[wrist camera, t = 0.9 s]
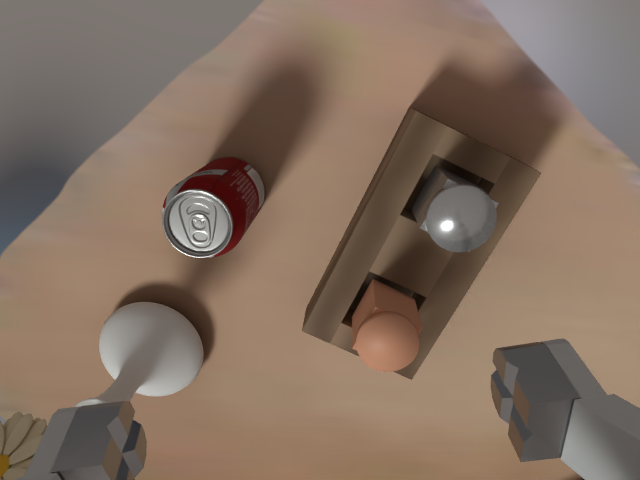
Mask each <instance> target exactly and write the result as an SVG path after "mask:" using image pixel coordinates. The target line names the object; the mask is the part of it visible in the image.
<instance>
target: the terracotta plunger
mask: <svg viewBox="0 0 640 480" xmlns="http://www.w3.org/2000/svg"><path fill="white" fill-rule="evenodd" d="M421 330H422V325H421V321H420V317H419V314H418V310H417V306H416V303H415V299H414V298H413V297H411V296H409V295H407V294H405V293H402V292H400V291H398V290H396V289H394V288H392V287H389V286H387V285H385V284H383V283H381V282H379V281H376V280H374V279H372V281H371V283H370V285H369V286H368V288H367V290H366V292H365V294H364V296H363V297H362V299H361V301H360V303H359V305H358V306H357V308H356V310H355V312H354V314H353V316H352V349H354V350H357V352H358V354H359V356H360V358H361V359H362V361H363V362H364V363H365V364H366V365H368V366H369V367H371V368H373V369H375V370H378V371H384V372H391V371H397V370H400V369H402V368H404V367H406V366H408V365H409V364H410V363H411V362H412V361H413V360H414V359H415V357H416V355H417V353H418V351H419V337H418V335H419V333H420V332H421Z"/></svg>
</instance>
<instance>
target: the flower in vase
mask: <svg viewBox="0 0 640 480" xmlns="http://www.w3.org/2000/svg"><path fill="white" fill-rule="evenodd" d="M99 350H100V355H101V359H102V361H103V364H104V366H105V367H106V369H107V371H108V372H109V373H110V375H111V376H112V377H113V378H114V379H115V381H114V382H113V384H112V385H111V386H110V387H109V388H108V389H107V390H106V391H105V392H104V393H103V394H101V395H100V396H99V397H97V398H89V399H85V400H83V401H81V402H79V403H77V404H76V405H75V406H74V407H79V406H85V405H94V404H102V403H111V402H120V401H130V400H131V398H132V397H133V395H134V393H135V392H136V393H139V394H143V395H147V396H165V395H170V394H173V393H176V392H178V391H180V390H181V389H183V388H185V387H186V386H188V385H189V384H190V383H191V382H192V381H193V380H194V379H195V378H196V377H197V375H198V374H199V372H200V370H201V367H202V363H203V355H204V353H203V346H202V342H201V339H200V336H199V334H198V333H197V331H196V329H195V328H194V326H193V325H192V324H191V323H190V322H189V321H188V319H186V318H185V317H184V316H183V315H182V314H180V313H179V312H177V311H176V310H174V309H172V308H170V307H167V306H165V305H162V304H158V303H153V302H136V303H131V304H128V305H125V306H123V307H121V308H119V309H117V310H116V311H115V312H113V313H112V314H111V315H110V316H109V317H108V319H107V320H106V322H105V323H104V326H103V328H102V331H101V335H100V341H99ZM47 426H48V425H47V422H46V420H45V419H43V420H41V419H40V418H36V419H34V420H33V416H32V414H26V415H24V416H23V414H22V413H21V412H17V413H15V414H14V415H13V416H12V418H10V419H8V420H7V421H6V422H5V424H4V426H3V425H2V423H1V421H0V480H15V479H16V478H22V477H24V475H25V473H26V471H27V469H28V467H29V465H30V462H31V460H32V458H33V456H34V454H35V452H36V449H37V447H38V445H39V443H40V441H41V439H42V437H43V434H44V432H45V430H46V428H47Z"/></svg>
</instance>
